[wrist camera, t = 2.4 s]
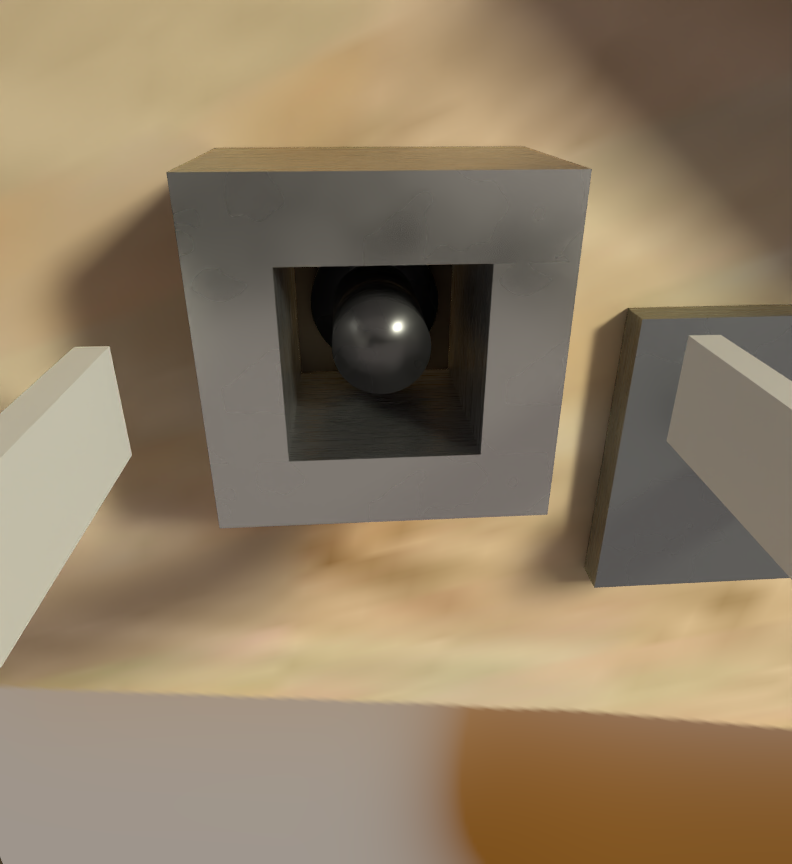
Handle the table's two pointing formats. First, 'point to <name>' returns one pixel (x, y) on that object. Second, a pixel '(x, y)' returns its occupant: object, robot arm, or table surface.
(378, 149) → the collar
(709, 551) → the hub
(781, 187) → the table surface
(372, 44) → the table surface
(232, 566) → the table surface
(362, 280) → the knob
